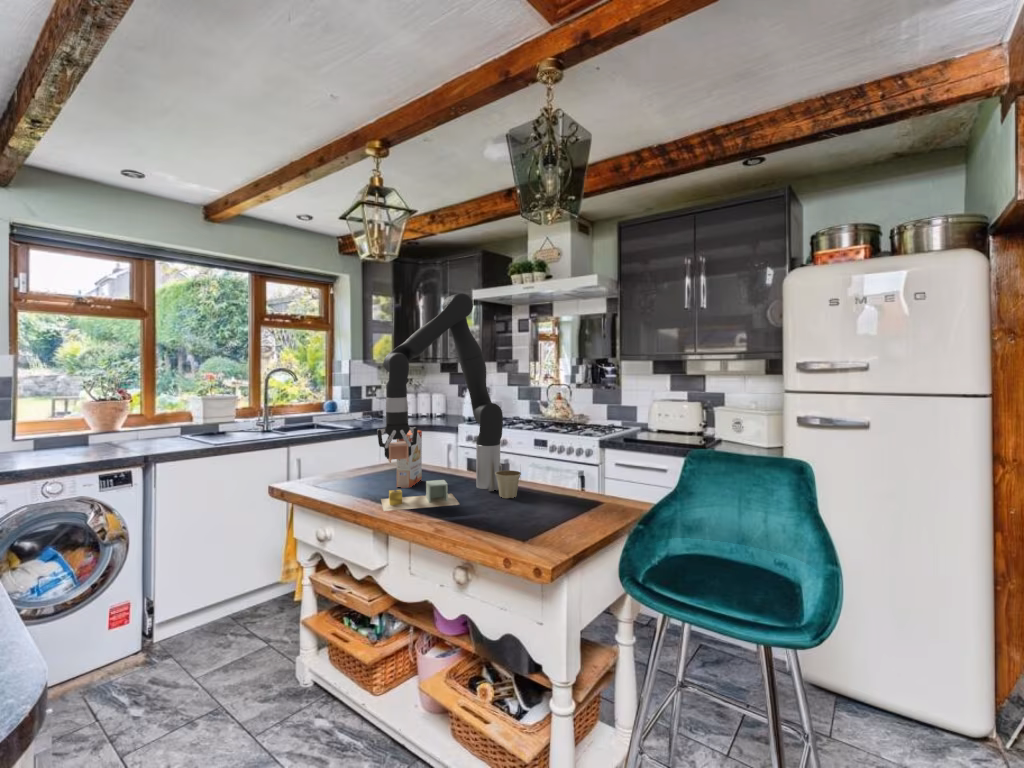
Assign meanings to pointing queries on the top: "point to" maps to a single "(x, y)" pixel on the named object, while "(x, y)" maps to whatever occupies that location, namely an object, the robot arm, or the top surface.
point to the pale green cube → (436, 489)
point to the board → (419, 502)
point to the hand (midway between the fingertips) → (397, 457)
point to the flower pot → (508, 483)
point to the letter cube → (395, 497)
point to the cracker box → (410, 463)
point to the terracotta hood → (398, 451)
